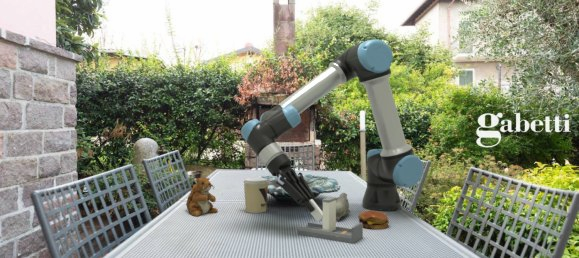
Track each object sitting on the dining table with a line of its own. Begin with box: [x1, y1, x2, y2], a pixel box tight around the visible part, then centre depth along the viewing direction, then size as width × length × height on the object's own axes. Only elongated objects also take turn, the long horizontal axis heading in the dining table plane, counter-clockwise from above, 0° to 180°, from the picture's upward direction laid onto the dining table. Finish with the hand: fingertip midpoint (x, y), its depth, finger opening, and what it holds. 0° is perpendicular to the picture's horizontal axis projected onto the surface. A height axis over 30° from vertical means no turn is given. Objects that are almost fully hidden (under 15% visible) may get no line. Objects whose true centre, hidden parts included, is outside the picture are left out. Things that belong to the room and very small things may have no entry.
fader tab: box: [321, 196, 337, 232], centre depth 126 cm, size 2×5×10 cm, turn 149°
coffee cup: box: [243, 177, 269, 214], centre depth 160 cm, size 9×9×12 cm
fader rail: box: [297, 222, 364, 244], centre depth 126 cm, size 18×7×4 cm, turn 59°
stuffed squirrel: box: [185, 177, 219, 217], centre depth 158 cm, size 10×14×13 cm
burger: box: [358, 210, 390, 230], centre depth 139 cm, size 10×9×5 cm
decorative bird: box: [336, 192, 351, 222], centre depth 152 cm, size 5×16×8 cm, turn 164°
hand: (321, 218), depth 127 cm, fingers closed
